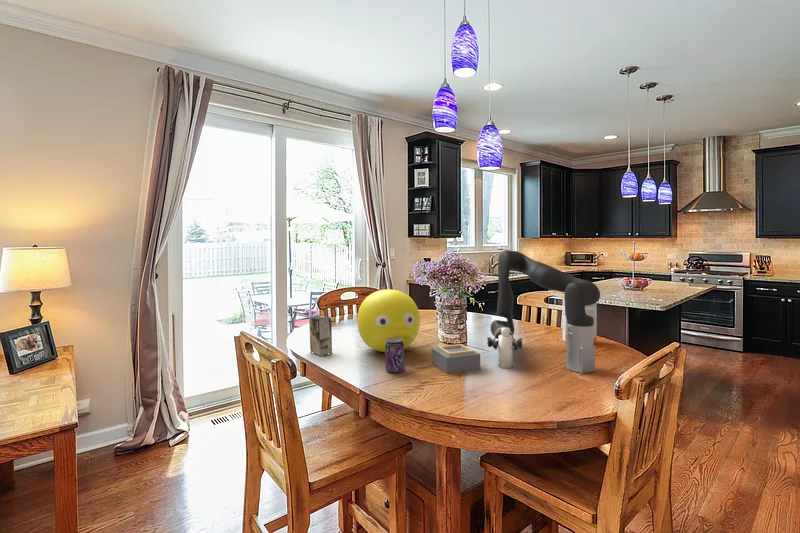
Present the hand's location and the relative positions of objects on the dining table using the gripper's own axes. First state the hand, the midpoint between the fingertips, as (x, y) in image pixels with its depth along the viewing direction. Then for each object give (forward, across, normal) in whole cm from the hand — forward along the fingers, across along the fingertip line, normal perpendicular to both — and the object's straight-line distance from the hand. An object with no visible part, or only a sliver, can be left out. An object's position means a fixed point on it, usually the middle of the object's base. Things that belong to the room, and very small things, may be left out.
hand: (505, 347), depth 162 cm
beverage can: (+10, -41, +8) cm, 43 cm away
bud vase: (-2, 0, +8) cm, 8 cm away
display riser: (+1, -19, +8) cm, 21 cm away
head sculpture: (-16, -50, +8) cm, 53 cm away
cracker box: (-45, +36, +8) cm, 58 cm away
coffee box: (-9, -79, +8) cm, 80 cm away
